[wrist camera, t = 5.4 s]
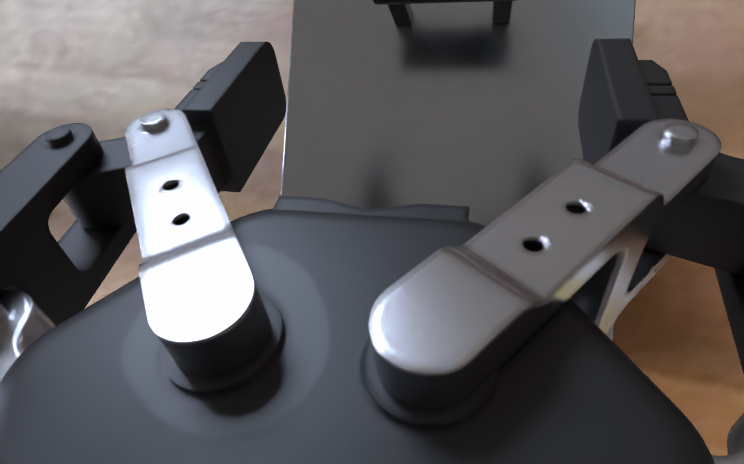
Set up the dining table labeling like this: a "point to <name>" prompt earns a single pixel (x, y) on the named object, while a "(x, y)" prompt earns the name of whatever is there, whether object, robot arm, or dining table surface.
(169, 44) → the dining table surface
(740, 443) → the robot arm
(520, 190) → the lid
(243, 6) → the dining table surface
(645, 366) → the dining table surface
